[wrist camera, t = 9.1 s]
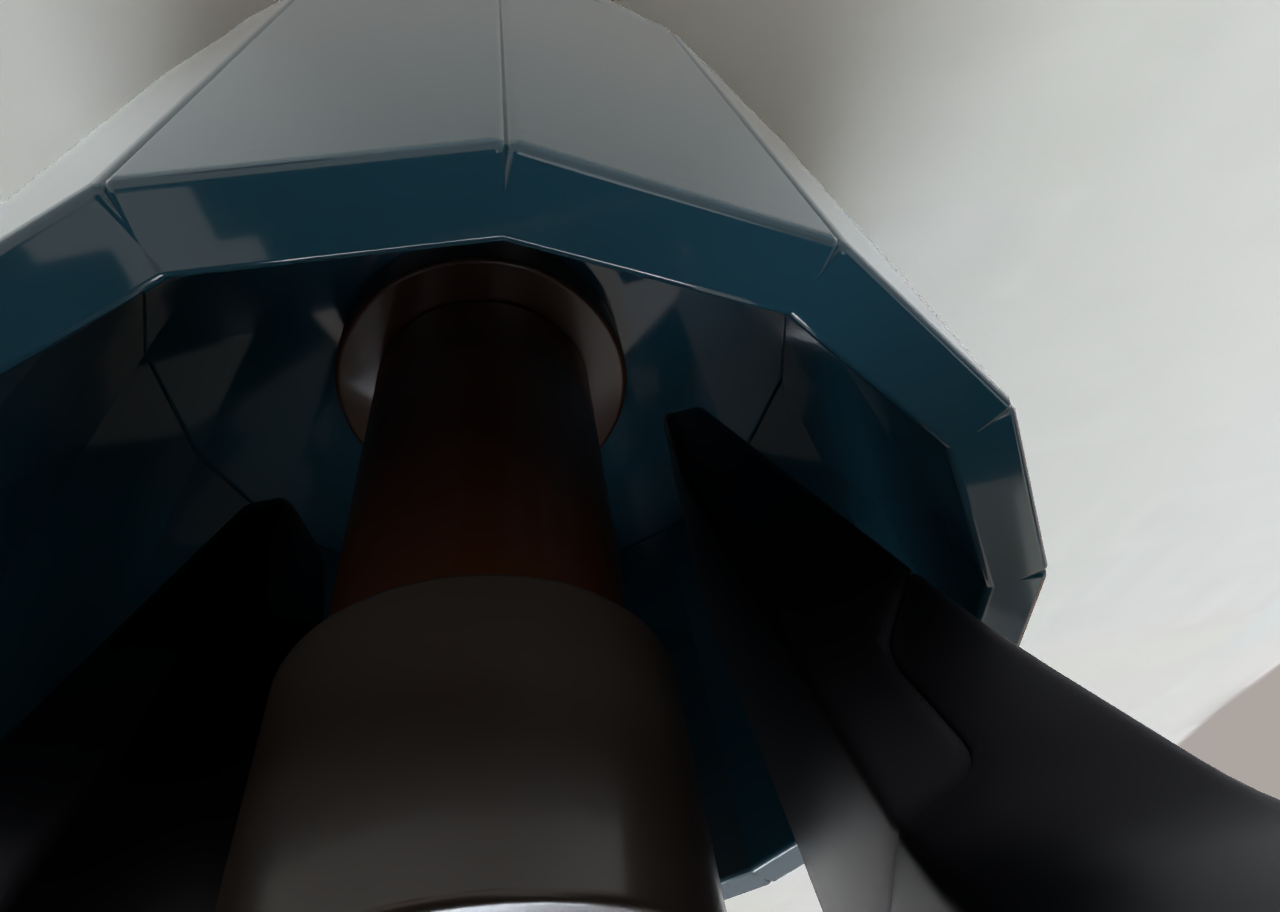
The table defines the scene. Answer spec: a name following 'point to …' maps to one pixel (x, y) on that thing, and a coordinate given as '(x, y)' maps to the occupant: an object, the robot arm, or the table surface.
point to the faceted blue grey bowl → (453, 216)
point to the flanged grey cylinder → (476, 630)
